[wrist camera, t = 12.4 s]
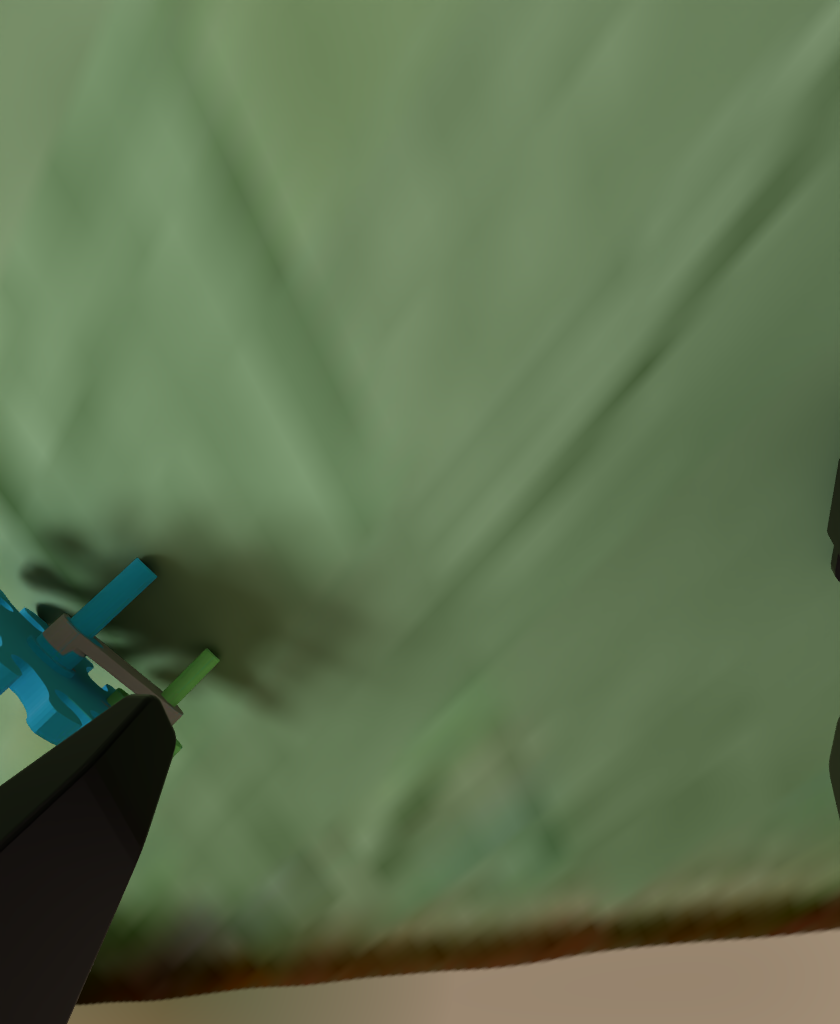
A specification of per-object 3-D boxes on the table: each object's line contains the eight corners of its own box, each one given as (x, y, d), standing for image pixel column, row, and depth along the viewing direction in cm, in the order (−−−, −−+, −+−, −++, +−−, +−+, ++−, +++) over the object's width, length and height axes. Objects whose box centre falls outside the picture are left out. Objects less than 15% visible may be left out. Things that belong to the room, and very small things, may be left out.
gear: (-101, 557, 27) (-127, 655, 18) (29, 450, 28) (58, 496, 20) (117, 722, 32) (172, 853, 24) (216, 624, 34) (299, 716, 26)
